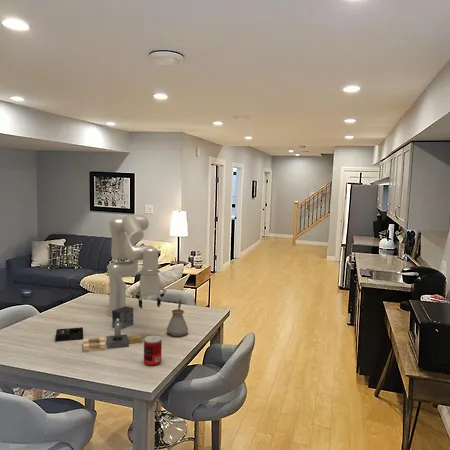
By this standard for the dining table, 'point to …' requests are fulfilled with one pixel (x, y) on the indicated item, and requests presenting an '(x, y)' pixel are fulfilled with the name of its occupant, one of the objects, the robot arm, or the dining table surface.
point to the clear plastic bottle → (117, 330)
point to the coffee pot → (177, 323)
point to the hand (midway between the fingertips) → (149, 306)
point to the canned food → (152, 350)
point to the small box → (123, 317)
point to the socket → (117, 342)
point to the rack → (94, 344)
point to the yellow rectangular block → (134, 339)
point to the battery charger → (69, 334)
